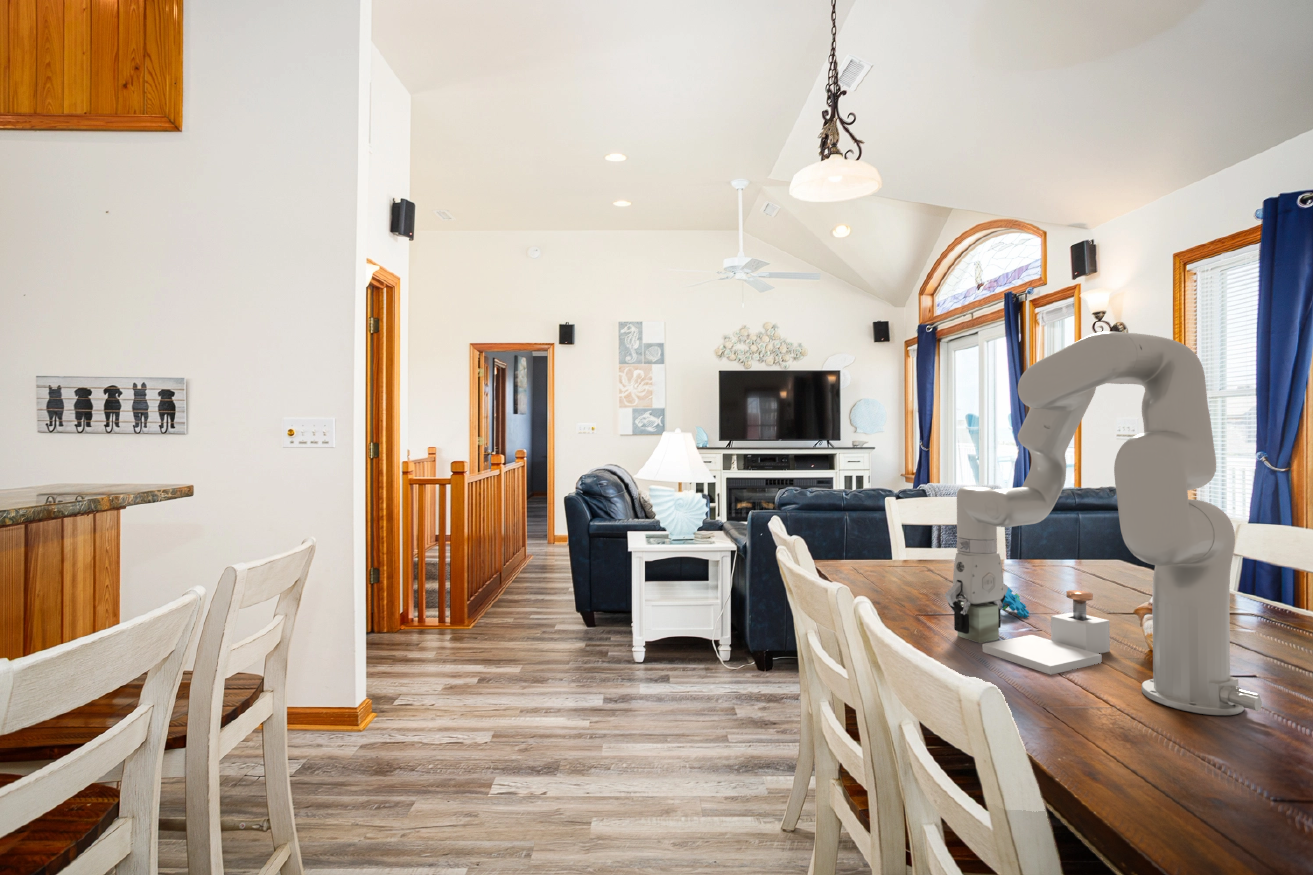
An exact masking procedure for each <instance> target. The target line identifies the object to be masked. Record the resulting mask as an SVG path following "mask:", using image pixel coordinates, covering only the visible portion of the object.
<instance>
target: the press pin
mask: <svg viewBox="0 0 1313 875" xmlns="http://www.w3.org/2000/svg"><path fill="white" fill-rule="evenodd" d="M1065 592H1066V593H1065V594H1066V598H1068V599H1070V600H1072V601H1073V602H1072V607H1073V608H1072V612H1073V619H1076V620H1080V621H1085V620H1086V615H1087V602H1088V601H1093V600H1094V598H1093V597H1094V593H1092V592H1090V591H1086V590H1078V589H1077V590H1075V589H1070V590H1066V591H1065Z"/></svg>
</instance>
